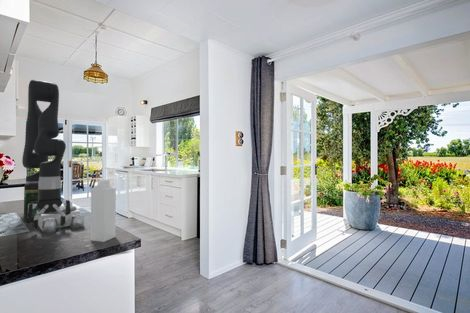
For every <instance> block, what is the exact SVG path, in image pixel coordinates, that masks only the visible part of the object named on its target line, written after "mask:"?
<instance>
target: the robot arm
mask: <svg viewBox="0 0 470 313" xmlns="http://www.w3.org/2000/svg"><path fill="white" fill-rule="evenodd" d="M27 87H28V89H27V90H28V91H27V92H28V94H27V95H28V96H27V98H28V100H27V116H26V124H25V140H24V148H23V153H22V161H21V162H22V166H23V167H24V168H25V169H38V171H37V172H34V173H32V174H29V175H26V177H25V184H27V183H29V182H33V181H38V182H39V183H38V203H36V204H31V203H29V204H28V212H27V218H28V219H31V220H33V222H32V228H33V229H35V230H38V229H39V226H38V218H39V217H40V216H41V215H42V214H43V212H44V213H49V212H55V211H58V212H59V213H60V214H61V221H60V224H61V226H63V225H64V224H65V216H66V215H68V214H70V213H71V212H70V206H71V201H70V200H69V199H66V200H62V179H61V166H62V161H63V157H64V155H65V152H66V147H67V146H66V143H65V141H64V140H63V139H61V138H57V137H59V135H60V132H59V130H60V128H59V121H58V119H59V118H58V117H59V116H58V115H59V102H60V91H59V85H58V84H57V83H54V82H50V81H45V80H38V79H31V80H30V81H29V83H28V86H27ZM38 102H44V103H50V104H49V105H48V106H47V108H45V109H44V110H43V111H42V110H41V108H40V107H39V104H38ZM49 157H54V158H53V159H52V160H49ZM36 206H37V207H38V208H39V210H38V212H37V213H36V214H35V215H34V216H32V209H34V208H35V207H36ZM60 206H66V212H63V211H62V210H61V209H60V208H59V207H60Z"/></svg>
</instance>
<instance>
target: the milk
mask: <svg viewBox="0 0 470 313" xmlns="http://www.w3.org/2000/svg"><path fill="white" fill-rule="evenodd" d="M116 191H117V188H116V187H115V186H114V185H112V184H111V183H110V179H104V180H98V181H97V185H95V187H93V188H91V189H90V241H92V242H100V243H105V242H107V241H110V240H111V239H114V238H116V221H117V220H116V215H117V214H116V212H117V211H116V208H117V207H116V206H117V204H116V203H117V202H116V200H117V192H116Z"/></svg>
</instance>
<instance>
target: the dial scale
mask: <svg viewBox="0 0 470 313" xmlns="http://www.w3.org/2000/svg"><path fill="white" fill-rule="evenodd" d="M59 208H60V209H61V210H62V211H63V212H66V206H65V205H61V206H60V207H59ZM37 212H38V210H37ZM70 212H71V213H70V214H68V215H66V216H65V224H64V225H63V226H61V224H60V221H61V214H60V213H59V212H58V211H55V212H49V213H44V212H43V214H42V215H41V216H40V217H39V218H38V228H40V230H41V231H42V220H43V219H47V218H57V229H58V228H59V229H60V228H65V227H71V216H72V215H79V214H81V211H80V210H79V209H77V207H76V206H73V205H70Z"/></svg>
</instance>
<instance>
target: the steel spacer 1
mask: <svg viewBox="0 0 470 313" xmlns="http://www.w3.org/2000/svg"><path fill="white" fill-rule="evenodd" d="M57 231H58V228H57V218H47V219H43V220H42V230H41V233H42V234H52V233H56V232H57Z"/></svg>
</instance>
